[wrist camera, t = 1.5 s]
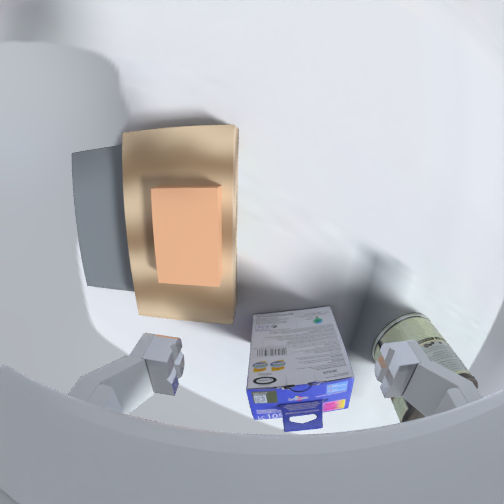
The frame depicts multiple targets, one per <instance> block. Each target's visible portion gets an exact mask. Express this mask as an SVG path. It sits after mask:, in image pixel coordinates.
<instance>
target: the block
mask: <svg viewBox="0 0 504 504" xmlns="http://www.w3.org/2000/svg"><path fill="white" fill-rule="evenodd" d="M151 203H152V220H153V234H154V246H155V256H156V266H157V275H158V283H168V284H181V285H196V286H211V287H219V286H220V283H221V280H222V185H177V186H157V187H154V188H151Z"/></svg>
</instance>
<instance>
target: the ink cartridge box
mask: <svg viewBox="0 0 504 504" xmlns="http://www.w3.org/2000/svg"><path fill="white" fill-rule="evenodd" d="M353 382H354V373H353V370H352V367H351V364H350V361H349V358H348V355H347V352H346V349H345V346H344V343H343V341H342V338H341V335H340V332H339V329H338V326H337V323H336V321H335V318H334V315H333V312H332V309H331V307H330V306H326V307H319V308H312V309H303V310H295V311H286V312H276V313H267V314H256V315H253V321H252V333H251V345H250V358H249V368H248V378H247V388H246V390H247V396H248V400H249V404H250V408H251V412H252V415H253V418H254V420H258V419H272V418H283V424H284V432H289V431H300V430H310V429H318V428H323V423H322V412H328V411H334V410H340V409H346V408H348V406H349V401H350V397H351V392H352V387H353ZM309 414H315V415H316V416H317V418H316V419H315V420H312V421H309V422H307V423H303V424H302V423H295V422H291V421H289V418H290V417H293V416H302V415H309Z"/></svg>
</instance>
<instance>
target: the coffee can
mask: <svg viewBox="0 0 504 504" xmlns="http://www.w3.org/2000/svg"><path fill="white" fill-rule="evenodd" d="M406 340H416V341H417V342H418V344H419V345H420V347H421V348H422V349H423V351H424V352H425V354H426V355H427V357H428V358H429V360H430V361H434V362H436V363H438V364H440V365H442V366H443V367H445V368H447V369H449V370H451V371H453V372H455V373H457V374H458V375H460V376H462V377H464V378H466V379H468V380H470V381H472V382H473V384H474V385H475V387H476V388H478V383H477V380H476V379H475V378H474V377H473V376H472V375H471V374H470V372H469V371H468V370H467V368H466V367H465V366H464V364H463V363H462V361H461V360H460V359H459V357H458V356H457V355H456V353H455V352H454V351H453V350H452V348H451V347H450V346H449V344H448V343H447V342H446V341H445V339H444V338H443V337H442V335H441V334H440V333H439V332H438V331H437V329H436V328H435V327H434V326H433V324H432V323H431V322H430V320H429V319H428V318H427V317H426V316H425V315H422V314H418V313H411V314H407V315H404V316H401V317H399V318H397V319H396V320H394V321H392V322H391V323H390V324H388V325H387V326H386V327H385V328H384V329H383V330H382V332H381V333H380V334H379V335H378V337H377V338H376V340H375V342H374V345H373V350H372V356H373V359H374V361H375V363H376V361H377V359H378V358H379V357H380V356H381V355H382V354H381V352H380V349H381V346H382V345H383V343H388V342H400V341H406ZM390 398H391V400H392V403H393V405H394V407H395V410H396V412H397V415H398V417H399V420H400V423H402V422H407V421H411V420H415V419H419V418H423V417H425V416H424V415H423V414H422V413H421V412H419V411H418V410H417V409H416V408H415V407H413V406H412V405H411V404H410V403H409V402H408V401H406V400H405V399H404V398H403V397H402V396H398V397H390Z"/></svg>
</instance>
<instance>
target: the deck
mask: <svg viewBox="0 0 504 504" xmlns="http://www.w3.org/2000/svg"><path fill="white" fill-rule="evenodd" d="M238 139H239V129H238V128H237V127H236V126H235V125H201V126H183V127H169V128H158V129H149V130H140V131H132V132H125V133H122V169H123V193H124V209H125V221H126V232H127V241H128V249H129V257H130V265H131V272H132V278H133V284H134V290H135V296H136V301H137V307H138V312H139V315H142V316H150V317H158V318H167V319H176V320H186V321H196V322H208V323H221V324H233V321H234V316H235V311H236V306H237V187H238ZM177 185H222V280H221V283H220V286H219V287H211V286H196V285H181V284H168V283H158V275H157V266H156V256H155V246H154V234H153V220H152V203H151V188H154V187H157V186H177Z"/></svg>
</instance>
